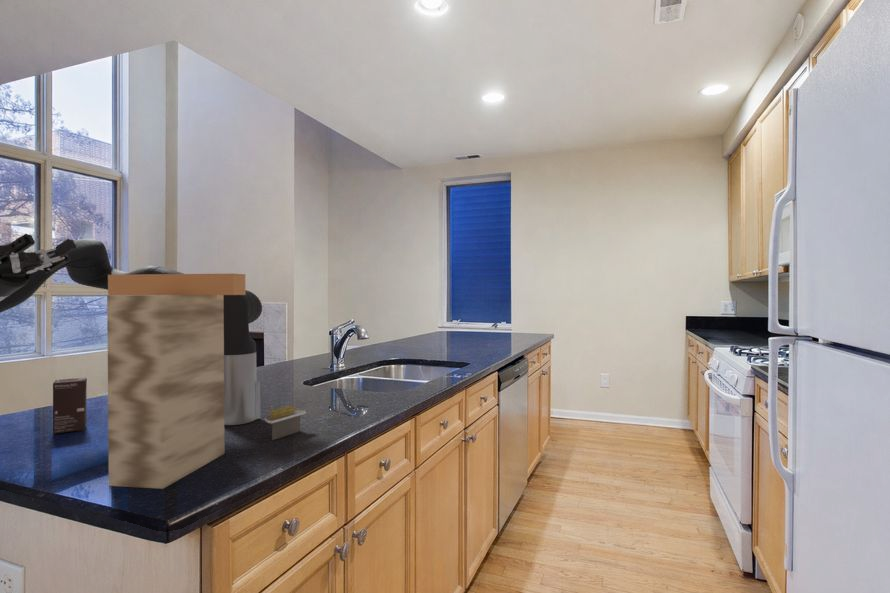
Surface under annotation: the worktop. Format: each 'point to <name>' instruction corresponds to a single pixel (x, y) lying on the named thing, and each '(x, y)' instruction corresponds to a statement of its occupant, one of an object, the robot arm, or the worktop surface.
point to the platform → (284, 421)
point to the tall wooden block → (164, 387)
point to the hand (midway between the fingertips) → (53, 240)
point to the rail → (177, 284)
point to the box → (69, 405)
